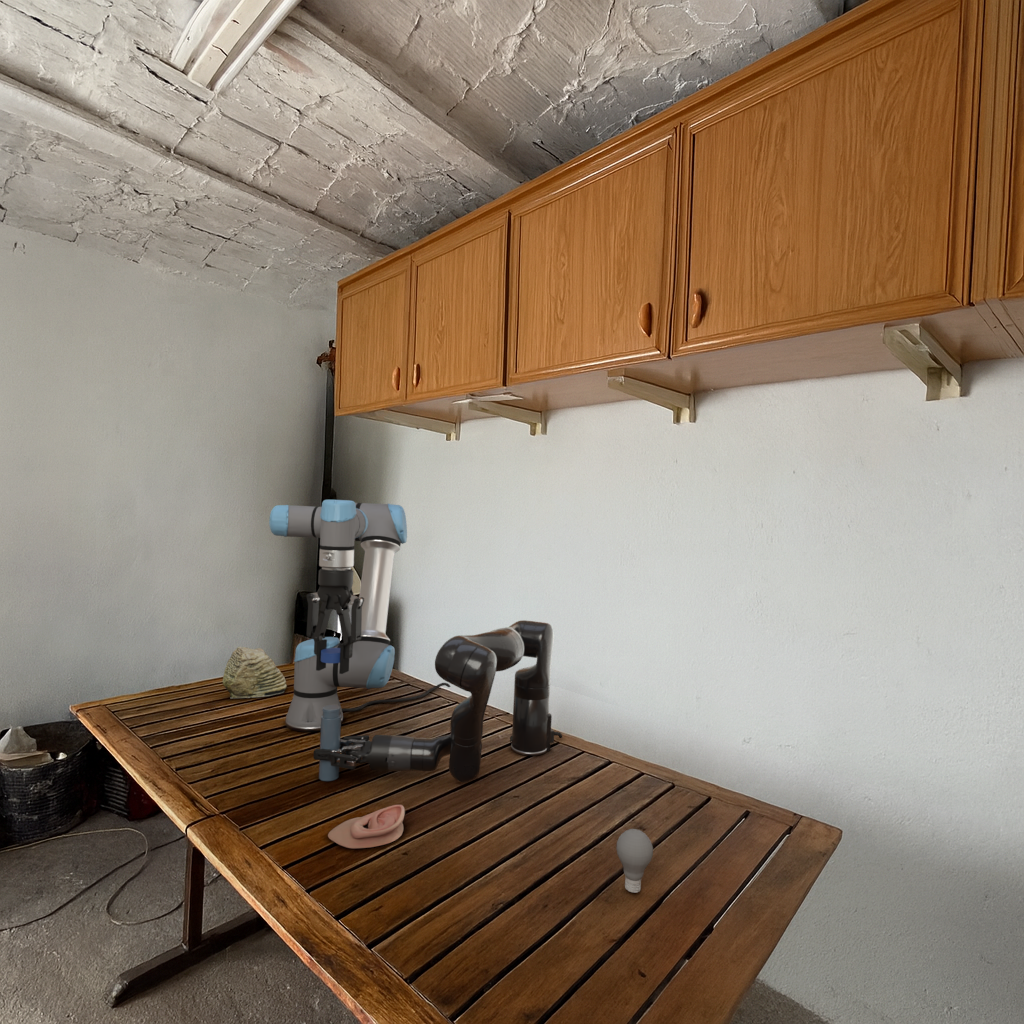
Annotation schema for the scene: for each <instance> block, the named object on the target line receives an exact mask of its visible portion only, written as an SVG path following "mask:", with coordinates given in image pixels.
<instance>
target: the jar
mask: <svg viewBox="0 0 1024 1024" xmlns="http://www.w3.org/2000/svg"><path fill="white" fill-rule="evenodd" d="M340 706H341V705H340ZM340 706H338V705H327V706H324V707H323V709H322V711H323V715H322V716H321V731H320V732H319V733H320V735H319V736H320V737H319V749H331V750H333V749H340V739H341V737H342V736H341V733H342V732H341V731H342V723H341V714H340V709H342V707H341V708H340ZM339 754H341V753H339ZM318 762H319V763H318V779H319V780H320V781H322V782H332V781H335V780H337V779H338V778H340V767H336V766H331V762H330V760H318Z"/></svg>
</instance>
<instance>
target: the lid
mask: <svg viewBox="0 0 1024 1024" xmlns="http://www.w3.org/2000/svg"><path fill="white" fill-rule="evenodd" d="M321 662H323V663H340V648H327V649H323V650H321Z"/></svg>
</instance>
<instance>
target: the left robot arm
mask: <svg viewBox="0 0 1024 1024" xmlns="http://www.w3.org/2000/svg"><path fill="white" fill-rule="evenodd" d="M269 530H270V532H271V533H272V534H273V535H274V536H276V537H284V538H287V537H289V538H292V537H293V538H295V537H296V538H317V539H318V538H319V558H318V559H319V560H318V566H319V567H320V569H319V570H318V581H317V583H318V585H319V587H318V589H317V591H316V592H309V593H307V594H306V601H307V618H306V619H307V620H306V634H305V635H306V637H307V638H311V639H307V640H304V641H302V642H300V643H298V644H297V645H296V648H295V655H294V660H293V662H294V672H293V695H292V696H293V697H292V699H291V702H290V704H289V708H288V711H287V713H286V715H285V726H286V728H287V729H289V730H291V731H294V732H295V731H296V732H301V733H316V732H321V716H322V715H323V711H322V709H323V707H324V706H327V705H338V706H340V708H341V709H340V714H341V724H342V723H343V722H344V714H343V712H344V713H346V712H349V713H350V712H353V713H354V712H358V711H360V710H362V709H364V708H366V707H368V706H370V705H374V704H386V703H388V704H390V703H401V702H408V701H409V702H410V701H414V700H419V699H422V698H424V697H425V696H427V695H428V694H430V693H431V692H433V691H435V690H437V689H439V688H441V687H443V686H445V687H447V688H451V685H450V683H449V682H441V683H439V684H437V685H435V686H433V687H431V688H429V689H427V690H426V691H425V692H423V693H422V694H419V695H415V696H410V697H403V698H402V697H401V698H393V699H391V698H390V699H375V700H370V701H367V702H365V703H363V704H361V705H360V706H357V707H353V708H350V707H348V708H347V707H346V708H342V706H341V702H340V699H339V695H338V688H355V689H357V688H358V689H368V690H370V689H381V688H384V687H385V686H386V685H387V684H388V682H389V680H390V677H391V675H392V671H393V668H394V663H395V653H396V650H395V647H394V646H392V645H391V639H390V638H389V636H388V635H387V634H386V632H387V624H388V615H389V614H388V613H389V604H390V595H391V588H392V587H391V586H392V579H393V578H392V577H393V570H394V561H395V554H397V553H398V552H400V550H401V544H402V545H404V544H406V543H407V542H408V541H407V540H408V539H407V538H408V525H407V516H406V512H405V509H404V507H403V506H402V505H400V504H393V503H372V502H371V503H370V502H355V501H354V500H349V499H324V500H323V501H322V502H321V506H313V505H312V506H310V505H292V504H290V505H289V504H277V505H275V506H273V508H272V509H271V511H270V514H269ZM355 542H360V547H361V548H362V550H363V551H364V556H363V564H362V573H361V580H360V589H359V596H356V595H355V594H354V592H353V585H354V570H353V569H352V568H353V567H354V565H355ZM320 603H321V605H320ZM349 604H350V605H349ZM350 606H351V610H350ZM333 610H334V611H336V615H337V616H338V620H339V625H340V630H341V631H340V632H341V635H342V636H341V637H342V640H343V642H342V643H341V641H340V638H338V637H337V636H335V637H334V636H325V634H326V632H327V628H328V624H329V622H330V621H329V620H330V617H331V614H332V612H333ZM350 612H351V613H350ZM327 648H340V663H323V662H321V650H323V649H327Z"/></svg>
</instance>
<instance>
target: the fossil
mask: <svg viewBox="0 0 1024 1024" xmlns="http://www.w3.org/2000/svg"><path fill="white" fill-rule="evenodd" d="M222 676H223V677H222V685H223V687H224V688H225V690H226V691H228V693H229V698H230V699H250V698H264V697H271V696H275V695H281V694H284V693H285V691H286V689H287V687H288V686H287V680H286V678H285V676H284V674H283V673H282V672H281V669H279V668H278V667H277V665H276V663H275V662H274V660H273V659H272V658H271V657H270V656H269V655H268V654H267V653H266V652H265V650H264V649H263V648H260V647H258V648H251V647H247V646H246V647H245V646H238V647H237V648H236V649H235V650H233V651H232V653H231V656H230V657H229V659H228V660H227V663H226V666H225V668H224V671H223V675H222Z"/></svg>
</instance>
